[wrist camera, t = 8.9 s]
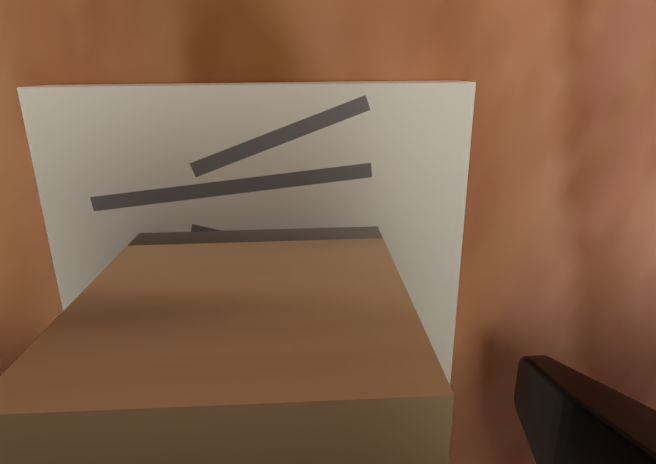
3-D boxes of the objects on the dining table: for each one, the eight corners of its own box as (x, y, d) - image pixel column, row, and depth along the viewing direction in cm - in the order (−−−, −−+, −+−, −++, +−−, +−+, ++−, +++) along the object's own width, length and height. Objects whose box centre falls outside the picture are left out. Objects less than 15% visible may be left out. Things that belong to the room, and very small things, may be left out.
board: (425, 513, 12) (435, 552, 11) (131, 527, 12) (115, 568, 11) (457, 80, 9) (475, 82, 8) (49, 84, 8) (16, 87, 7)
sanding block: (372, 459, 10) (424, 754, 6) (174, 468, 10) (74, 778, 6) (377, 226, 8) (455, 395, 4) (139, 233, 8) (-40, 416, 4)
